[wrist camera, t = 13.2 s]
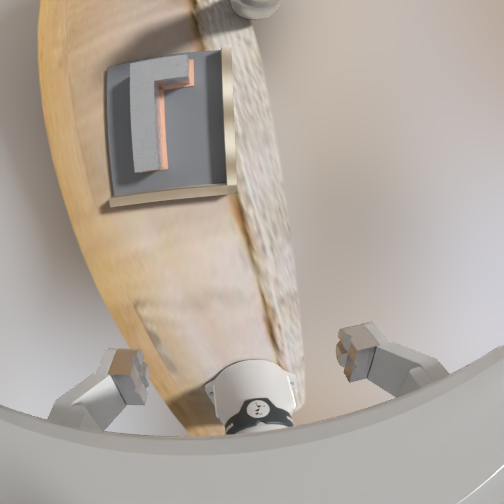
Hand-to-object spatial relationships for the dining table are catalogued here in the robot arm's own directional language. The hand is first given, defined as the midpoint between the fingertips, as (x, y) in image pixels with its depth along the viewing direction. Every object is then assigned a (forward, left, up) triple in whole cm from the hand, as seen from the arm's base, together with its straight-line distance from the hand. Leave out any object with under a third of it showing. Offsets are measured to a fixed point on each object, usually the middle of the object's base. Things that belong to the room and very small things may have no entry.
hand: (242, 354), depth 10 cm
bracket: (+13, +7, -28) cm, 32 cm away
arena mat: (+11, +6, -29) cm, 32 cm away
